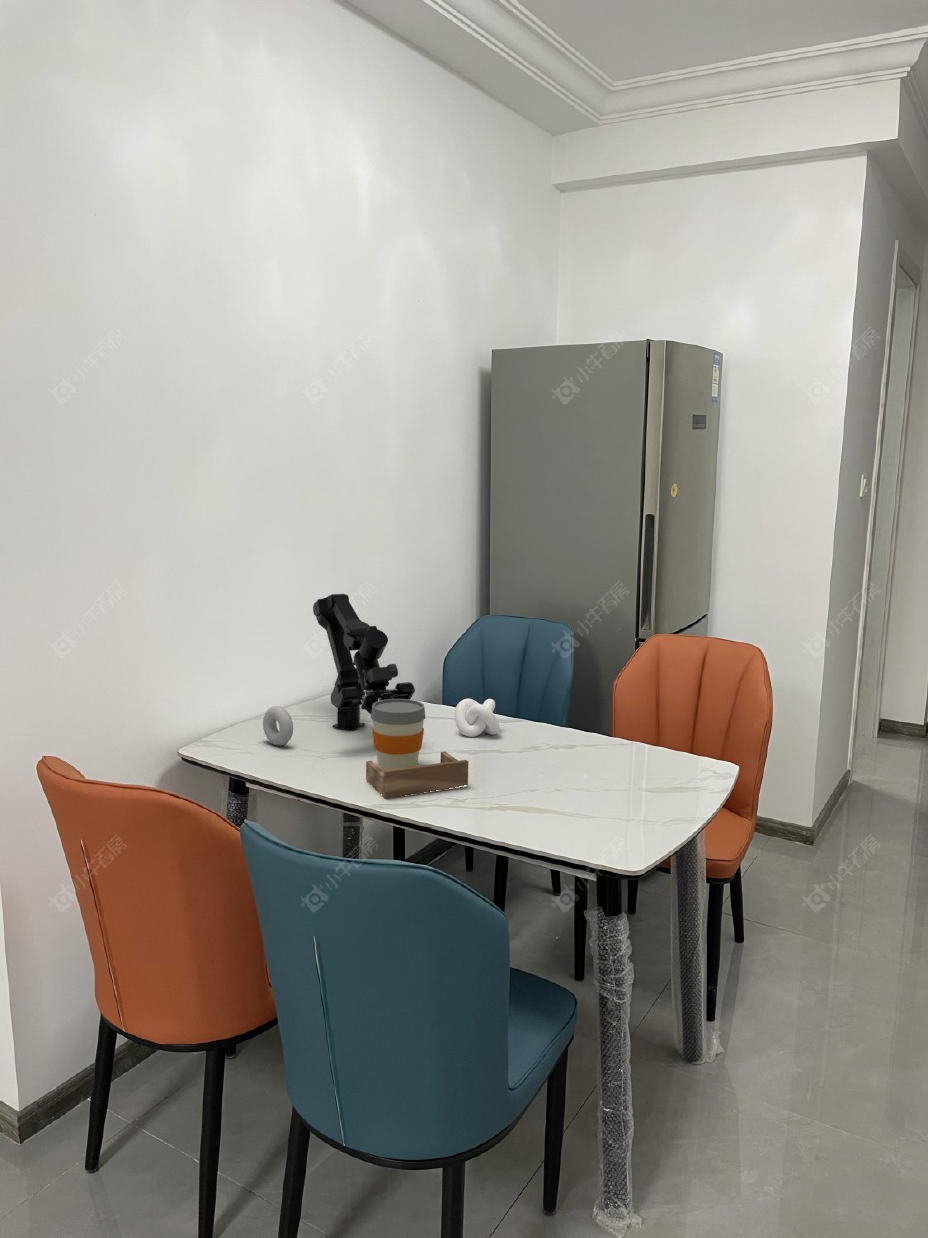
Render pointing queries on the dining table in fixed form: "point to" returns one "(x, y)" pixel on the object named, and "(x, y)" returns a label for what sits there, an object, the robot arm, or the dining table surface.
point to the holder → (418, 777)
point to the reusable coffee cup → (397, 732)
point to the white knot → (476, 717)
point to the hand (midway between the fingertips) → (384, 725)
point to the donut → (284, 725)
